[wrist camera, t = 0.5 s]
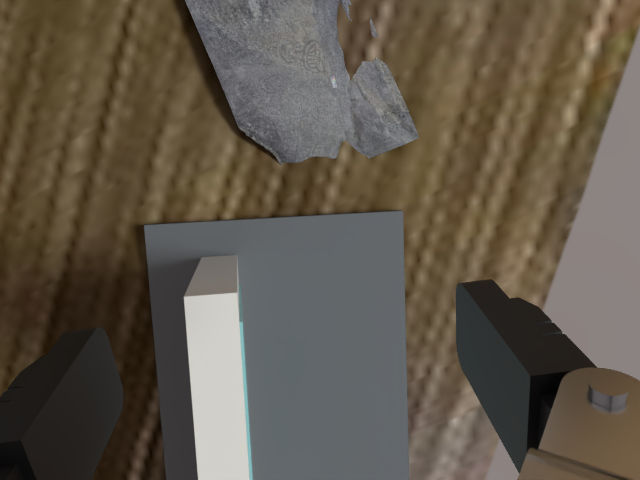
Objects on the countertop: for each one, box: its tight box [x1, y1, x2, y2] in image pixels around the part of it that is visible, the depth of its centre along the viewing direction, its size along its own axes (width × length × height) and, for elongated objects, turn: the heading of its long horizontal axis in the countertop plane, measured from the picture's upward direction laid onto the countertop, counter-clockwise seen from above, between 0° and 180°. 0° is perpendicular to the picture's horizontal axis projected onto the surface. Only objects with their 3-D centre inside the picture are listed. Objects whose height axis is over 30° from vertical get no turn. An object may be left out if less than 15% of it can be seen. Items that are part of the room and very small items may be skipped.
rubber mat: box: [144, 210, 409, 480], centre depth 31 cm, size 20×15×1 cm
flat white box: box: [184, 255, 253, 480], centre depth 25 cm, size 16×2×10 cm, turn 3°
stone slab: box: [185, 0, 419, 165], centre depth 29 cm, size 18×2×10 cm
